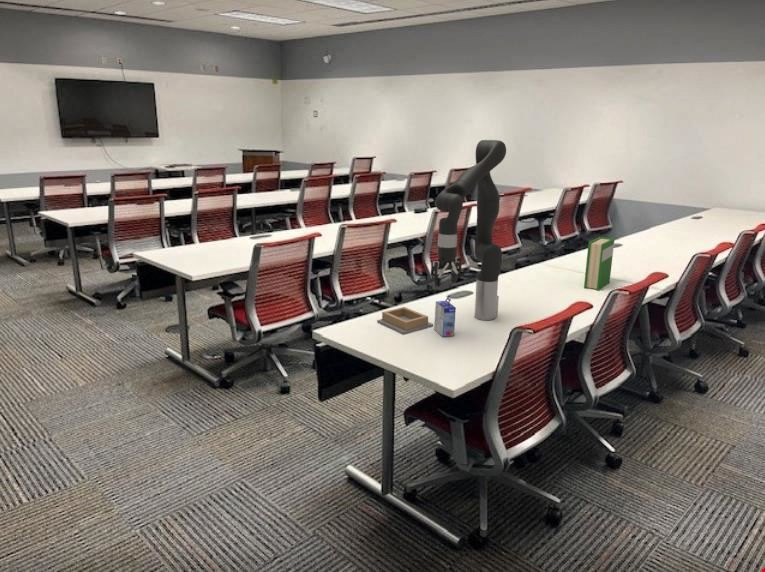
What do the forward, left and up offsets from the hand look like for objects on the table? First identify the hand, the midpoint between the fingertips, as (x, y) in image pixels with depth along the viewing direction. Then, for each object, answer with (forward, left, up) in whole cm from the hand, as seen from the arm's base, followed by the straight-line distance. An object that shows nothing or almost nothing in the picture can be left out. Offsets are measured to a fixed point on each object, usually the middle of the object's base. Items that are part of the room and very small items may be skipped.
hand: (445, 284), depth 227 cm
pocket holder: (+7, -17, -20) cm, 27 cm away
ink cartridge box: (0, 0, -21) cm, 21 cm away
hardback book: (-109, -2, -21) cm, 111 cm away
